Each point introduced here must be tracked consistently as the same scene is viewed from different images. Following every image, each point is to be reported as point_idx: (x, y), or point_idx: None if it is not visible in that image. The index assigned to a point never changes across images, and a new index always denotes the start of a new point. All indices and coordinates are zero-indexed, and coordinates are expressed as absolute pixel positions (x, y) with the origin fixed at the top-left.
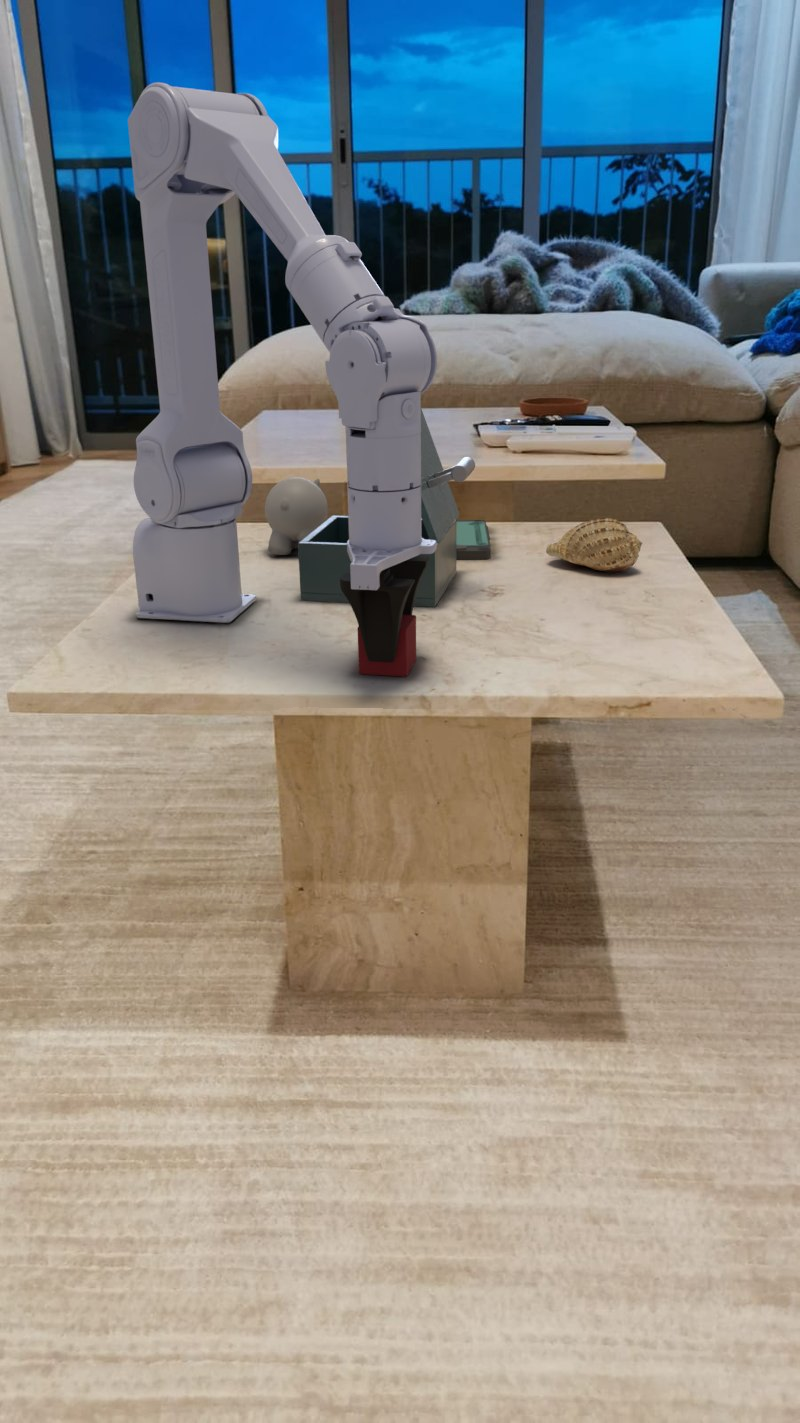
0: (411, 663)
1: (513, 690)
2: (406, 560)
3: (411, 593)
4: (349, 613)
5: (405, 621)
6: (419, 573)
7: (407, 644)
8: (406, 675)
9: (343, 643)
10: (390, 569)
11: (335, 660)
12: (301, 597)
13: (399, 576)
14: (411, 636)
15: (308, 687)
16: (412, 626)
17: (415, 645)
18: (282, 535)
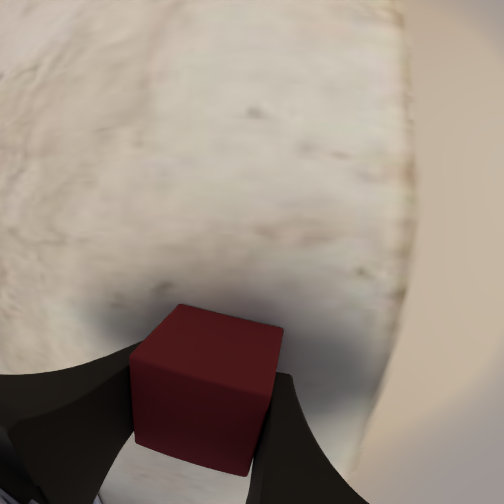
0: (230, 321)
1: (369, 87)
2: (31, 479)
3: (90, 399)
4: (14, 371)
5: (188, 389)
6: (43, 420)
7: (260, 363)
8: (281, 329)
9: None
10: (63, 486)
11: None
12: None
13: (69, 458)
14: (208, 353)
15: None
16: (184, 361)
17: (173, 320)
18: None
